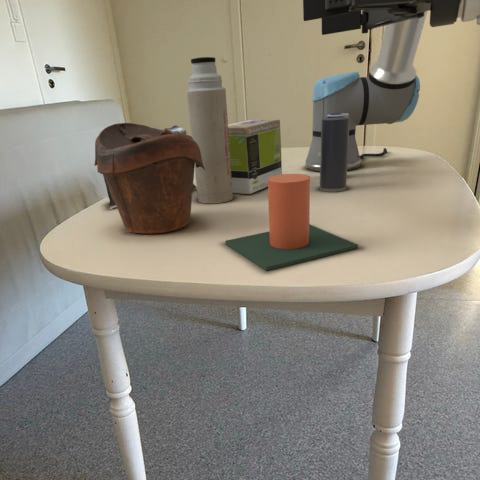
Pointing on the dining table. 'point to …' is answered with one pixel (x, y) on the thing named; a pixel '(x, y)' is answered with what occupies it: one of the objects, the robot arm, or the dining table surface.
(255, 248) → the mat
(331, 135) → the dark grey cylinder
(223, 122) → the thermos bottle
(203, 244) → the dining table surface
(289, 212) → the orange cylinder
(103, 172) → the brown tapered pot
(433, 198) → the dining table surface
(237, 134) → the tea box
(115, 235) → the dining table surface
